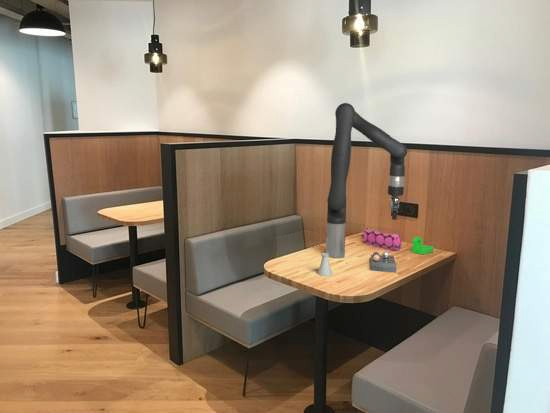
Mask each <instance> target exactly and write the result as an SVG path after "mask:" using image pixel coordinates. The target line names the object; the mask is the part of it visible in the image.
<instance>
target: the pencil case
mask: <svg viewBox="0 0 550 413" xmlns="http://www.w3.org/2000/svg"><path fill="white" fill-rule="evenodd" d="M361 238H362V239H363V242H364V243H365V245H368V246H369V245H370V246H373V247H379V248H382V249H385V250H390V251H396V252H397V251H399V250H401V248H402V246H403V245H402V239H401V236H400V234H397V233H389V232H388V233H387V232H382V231H379V230H374V229H372V228H370V227H369V226H366V227H365V231H364V233H363V234H361Z"/></svg>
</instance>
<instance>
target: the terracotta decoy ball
mask: <svg viewBox="0 0 550 413" xmlns="http://www.w3.org/2000/svg"><path fill="white" fill-rule="evenodd" d="M379 255H380V254H379ZM379 255H374V256H373V260H374V261H379V260H380V257H379Z"/></svg>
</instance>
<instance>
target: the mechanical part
mask: <svg viewBox="0 0 550 413" xmlns="http://www.w3.org/2000/svg"><path fill="white" fill-rule="evenodd" d="M411 248H412V250H411V251H412V253H414V254H417V255H425V254H429V253H432V252H434V246H432V245H427V244H424V245H423V238H422V237H420V236H415V237H414V238H413V240H412V245H411Z"/></svg>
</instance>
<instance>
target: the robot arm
mask: <svg viewBox="0 0 550 413" xmlns="http://www.w3.org/2000/svg"><path fill="white" fill-rule="evenodd" d="M334 114H335V134H334V139H333V144H332V149H331V157H330V186H329V192H328V196H327V199H326V200H327V202H326V203H327V215H326V216H327V217H326V223H327V224H326V241H325V253H328V254H329V255H328V258H334V259H335V258H336V259H337V258H338V259H339V258H341V259H342V258H344V257H345V255H346V226H347V224H346V221H347V195H346V194H347V190H346V189H347V180H348V175H349V170H350V166H351V159H352V158H351V155H352V130H353V129H354V130H356V131H358V132H359V133H360V134H362V135H363V136H364V137H366V138H367V139H368V140H370V141H371V142H372V143H374V144H375V145H376V146H378V147H379V148H381V149H384V150H385V151H386V152H387V153H389V157H390V160H389V162H390V164H389V165H390V166H389V177H388V181H387V182H388V183H387V195H388V196H391V198H390V210H391V212H390V216H391V219H392V220H393V221H395V220H397V219H398V212H399V207H400V198H399V197H402V196H404V192H405V172H406V168H405V167H406V165H405V157H406V156H407V155H408V148H407V146H406V145H405V144H403V143H402V142H400V141H398V140H397V139H395V138H393V137H392V136H391V135H390V134H389V133H387V132H386V131H385V130H383V129H382V128H380V127H378V126H376V125H375V124H373V123H371V122H369V121H368V120H367V119H365V118H364V117H363V116H361V115H360V114H359V113H358V112H356V110H355V107H354V106H353V105H352V104H350V103H348V102H344V103H341V104H339V105H338V106H337V107H336V109H335V113H334ZM352 128H353V129H352Z"/></svg>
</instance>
